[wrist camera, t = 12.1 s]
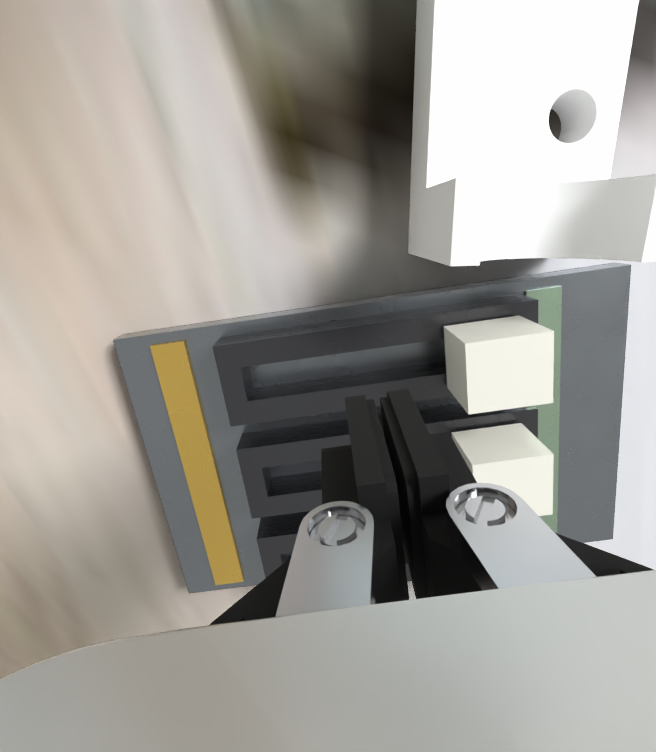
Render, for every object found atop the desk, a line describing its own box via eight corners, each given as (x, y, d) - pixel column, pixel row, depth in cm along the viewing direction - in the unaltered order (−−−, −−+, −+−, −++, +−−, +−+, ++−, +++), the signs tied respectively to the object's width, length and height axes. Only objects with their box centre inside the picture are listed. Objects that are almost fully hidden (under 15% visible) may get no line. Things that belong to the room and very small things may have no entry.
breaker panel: (123, 334, 22) (94, 349, 19) (614, 262, 22) (659, 268, 19) (194, 577, 27) (179, 619, 24) (600, 525, 26) (634, 561, 23)
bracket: (554, 249, 22) (670, 261, 15) (407, 252, 22) (450, 266, 14) (600, -97, 18) (793, -319, 10) (418, -94, 18) (487, -316, 10)
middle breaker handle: (441, 416, 22) (472, 465, 18) (506, 408, 22) (553, 454, 18) (444, 466, 23) (475, 524, 19) (507, 457, 23) (552, 514, 19)
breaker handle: (433, 318, 21) (465, 343, 16) (502, 308, 21) (554, 331, 16) (437, 375, 22) (468, 414, 17) (504, 365, 22) (553, 402, 17)
